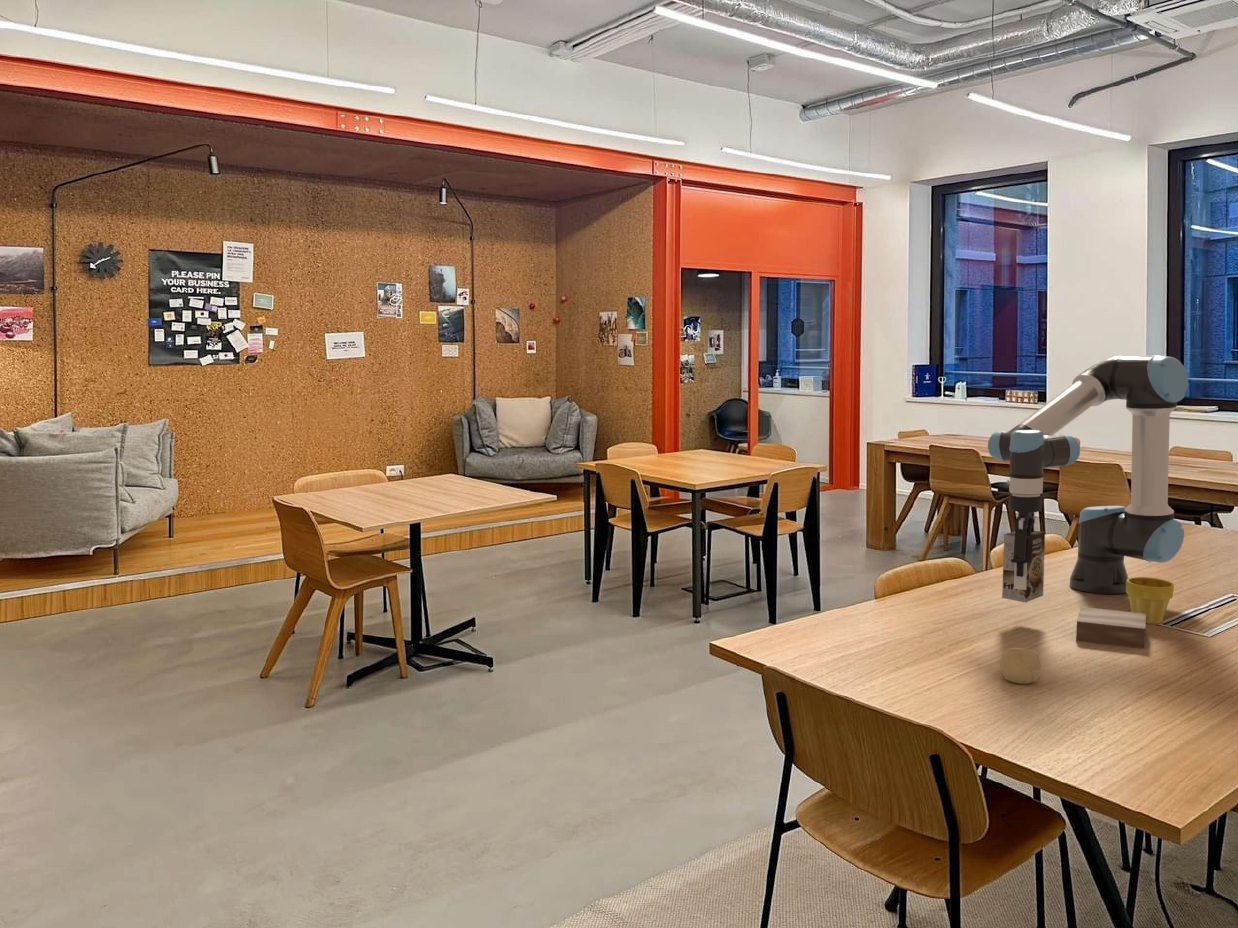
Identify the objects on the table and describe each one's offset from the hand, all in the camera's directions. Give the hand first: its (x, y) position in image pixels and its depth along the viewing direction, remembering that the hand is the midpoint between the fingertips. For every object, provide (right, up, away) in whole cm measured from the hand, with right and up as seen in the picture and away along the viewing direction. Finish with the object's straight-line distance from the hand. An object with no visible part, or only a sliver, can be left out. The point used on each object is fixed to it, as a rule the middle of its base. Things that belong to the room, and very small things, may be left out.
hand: (1023, 583), depth 242 cm
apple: (-17, -15, -40) cm, 46 cm away
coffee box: (0, -4, 0) cm, 4 cm away
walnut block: (+16, -11, -11) cm, 22 cm away
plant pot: (+32, -10, +2) cm, 33 cm away
